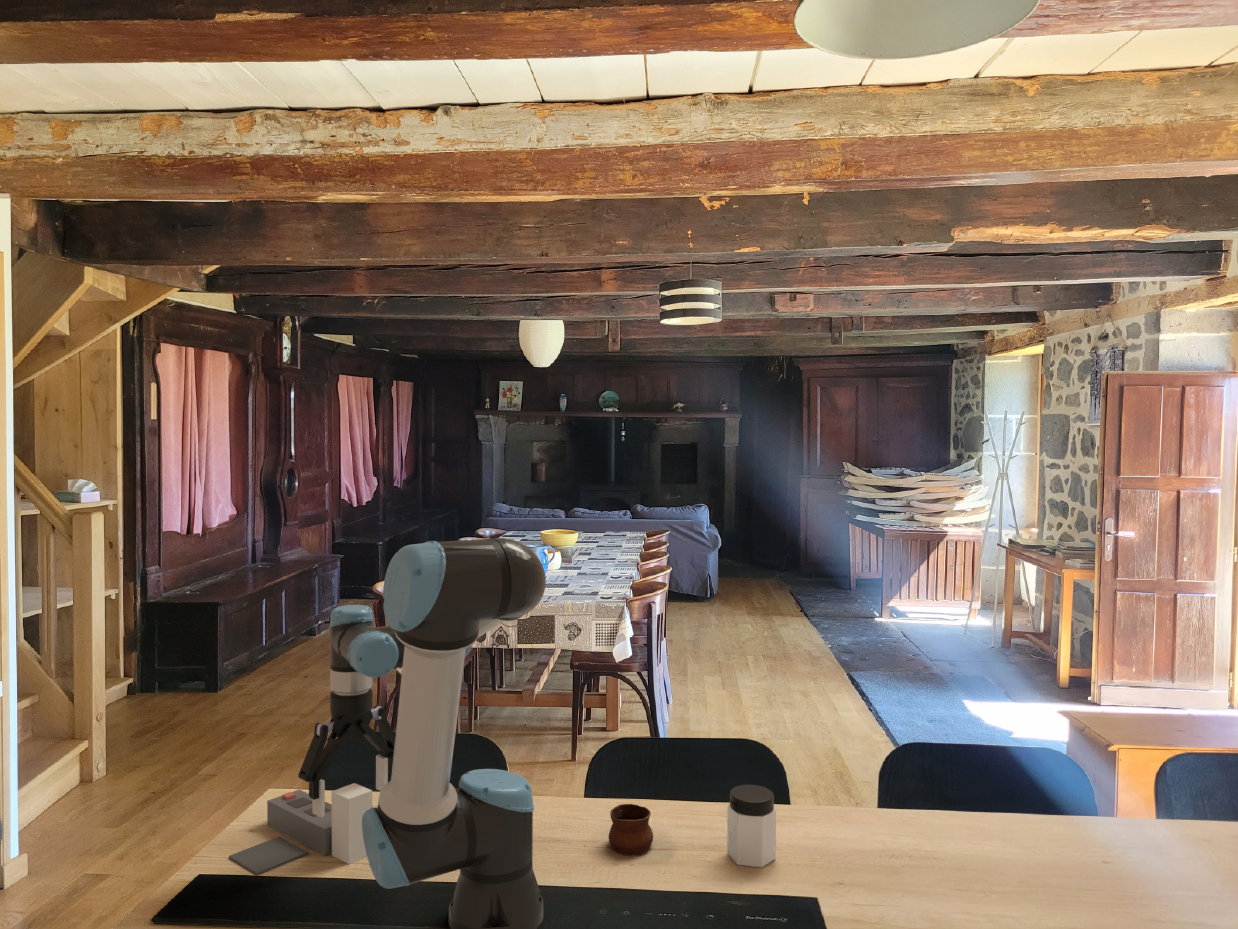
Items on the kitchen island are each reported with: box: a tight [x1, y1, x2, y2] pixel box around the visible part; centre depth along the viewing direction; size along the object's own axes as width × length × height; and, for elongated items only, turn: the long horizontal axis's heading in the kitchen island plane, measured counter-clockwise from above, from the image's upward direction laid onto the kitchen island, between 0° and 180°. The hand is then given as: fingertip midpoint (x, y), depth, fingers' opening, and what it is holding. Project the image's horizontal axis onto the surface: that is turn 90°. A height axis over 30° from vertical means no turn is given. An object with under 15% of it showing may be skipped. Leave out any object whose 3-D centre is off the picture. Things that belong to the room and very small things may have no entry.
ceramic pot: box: [583, 803, 654, 856], centre depth 163 cm, size 18×18×7 cm
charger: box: [331, 782, 373, 865], centre depth 160 cm, size 8×5×12 cm, turn 52°
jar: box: [726, 784, 777, 869], centre depth 159 cm, size 9×8×12 cm
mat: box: [228, 835, 309, 876], centre depth 158 cm, size 10×10×1 cm
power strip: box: [266, 789, 332, 857], centre depth 167 cm, size 20×7×6 cm, turn 52°
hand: (351, 802), depth 159 cm, fingers open, 13 cm apart
